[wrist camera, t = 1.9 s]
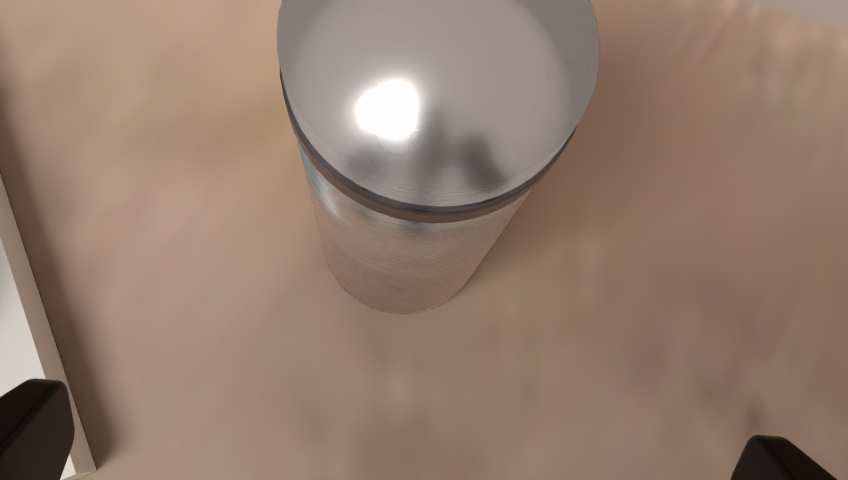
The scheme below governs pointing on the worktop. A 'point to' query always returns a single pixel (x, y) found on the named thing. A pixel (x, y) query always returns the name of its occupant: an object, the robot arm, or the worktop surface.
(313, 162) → the cylinder
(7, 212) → the pallet
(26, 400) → the robot arm
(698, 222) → the worktop surface
